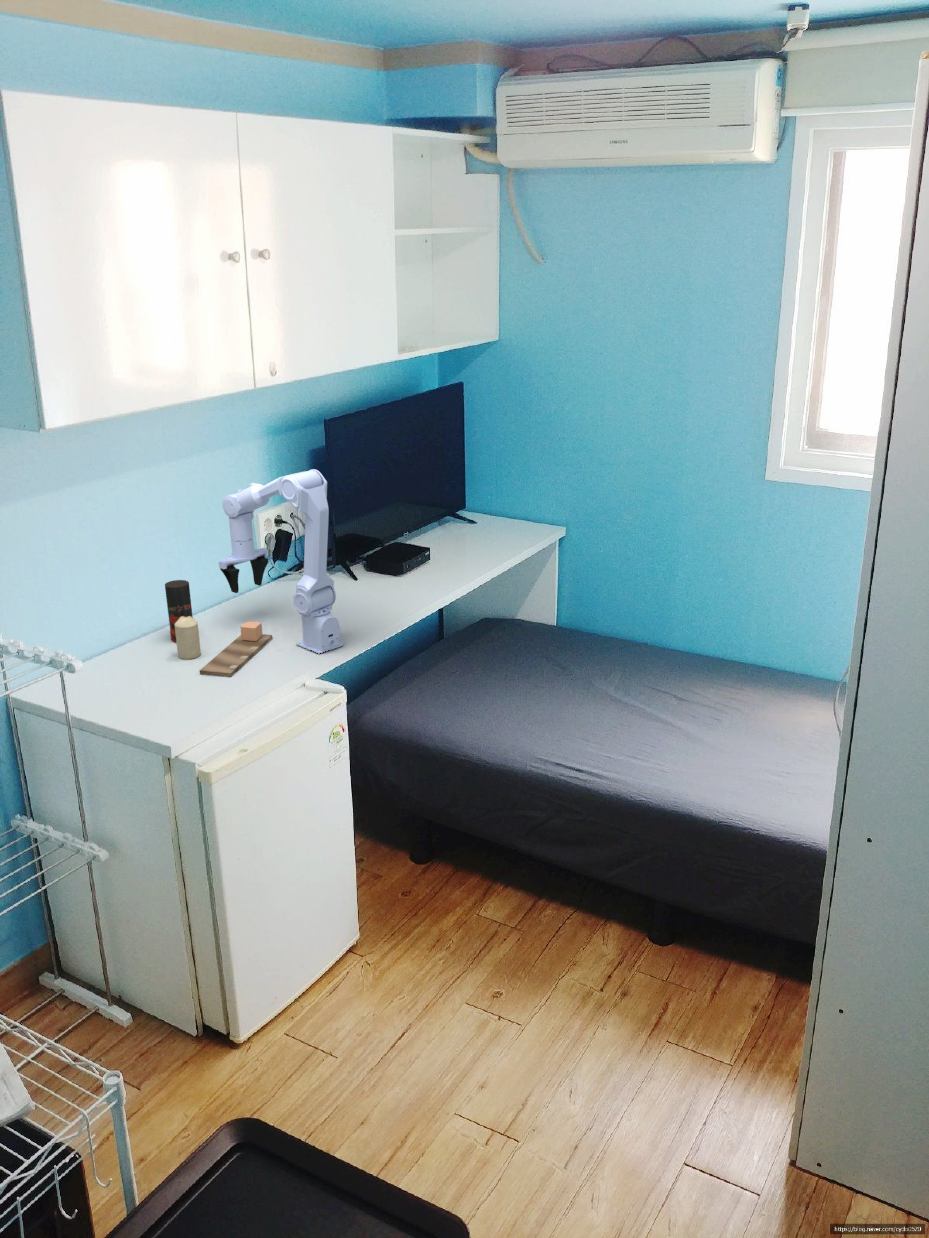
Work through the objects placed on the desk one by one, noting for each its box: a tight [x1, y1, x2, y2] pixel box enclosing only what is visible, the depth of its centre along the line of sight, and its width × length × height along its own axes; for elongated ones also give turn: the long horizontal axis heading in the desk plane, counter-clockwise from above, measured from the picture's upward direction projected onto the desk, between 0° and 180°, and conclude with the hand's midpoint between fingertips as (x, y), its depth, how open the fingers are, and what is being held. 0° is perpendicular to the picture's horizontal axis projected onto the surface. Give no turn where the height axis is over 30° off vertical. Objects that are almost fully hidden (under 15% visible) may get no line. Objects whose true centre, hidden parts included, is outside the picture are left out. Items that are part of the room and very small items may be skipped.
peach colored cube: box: [240, 621, 264, 641], centre depth 273 cm, size 4×4×4 cm
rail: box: [198, 633, 273, 678], centre depth 266 cm, size 25×8×1 cm, turn 167°
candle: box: [175, 616, 202, 660], centre depth 265 cm, size 6×6×10 cm
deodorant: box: [164, 579, 194, 644], centre depth 274 cm, size 6×6×15 cm
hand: (246, 588), depth 283 cm, fingers open, 7 cm apart
